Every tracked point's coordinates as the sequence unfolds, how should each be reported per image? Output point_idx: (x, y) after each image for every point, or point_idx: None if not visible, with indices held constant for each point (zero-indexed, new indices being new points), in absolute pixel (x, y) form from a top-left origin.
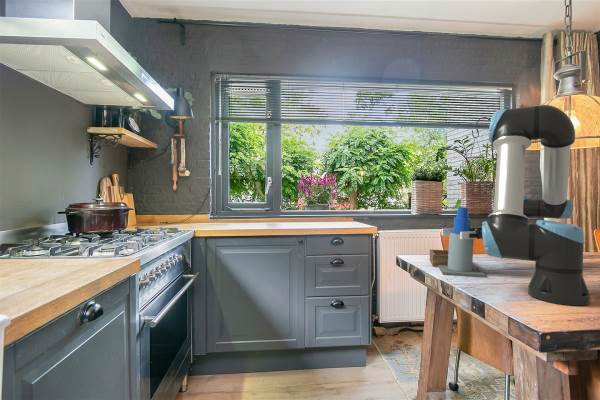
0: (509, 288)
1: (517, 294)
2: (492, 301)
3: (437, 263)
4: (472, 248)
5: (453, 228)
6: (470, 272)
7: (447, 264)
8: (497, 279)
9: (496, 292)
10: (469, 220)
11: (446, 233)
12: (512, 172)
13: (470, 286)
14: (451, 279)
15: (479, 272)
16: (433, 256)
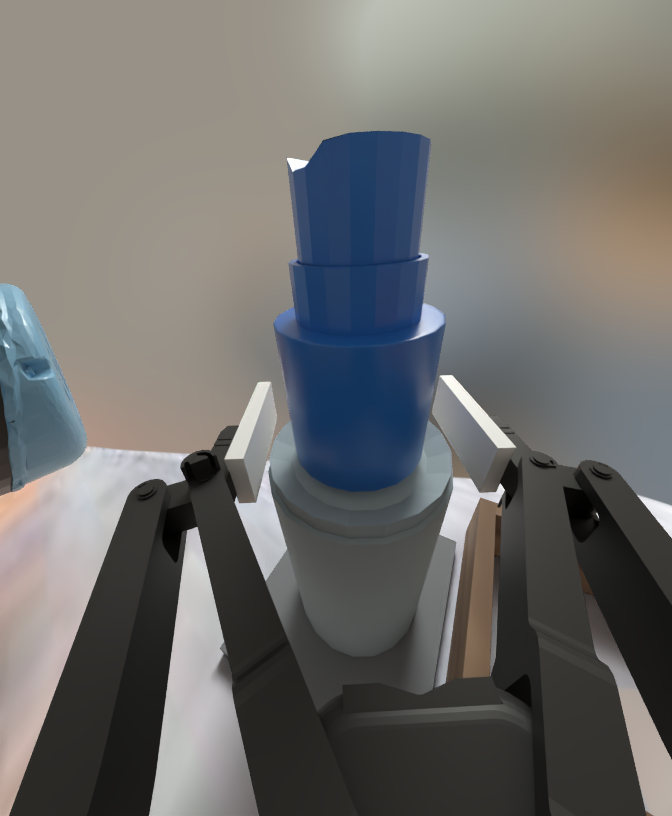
0: (60, 607)
1: (19, 569)
2: (87, 463)
3: (468, 538)
4: (290, 553)
5: (501, 434)
6: (291, 596)
7: (462, 584)
8: None
9: (97, 519)
10: (280, 350)
11: (444, 418)
12: None
13: None
14: (270, 487)
15: None
16: (478, 503)
